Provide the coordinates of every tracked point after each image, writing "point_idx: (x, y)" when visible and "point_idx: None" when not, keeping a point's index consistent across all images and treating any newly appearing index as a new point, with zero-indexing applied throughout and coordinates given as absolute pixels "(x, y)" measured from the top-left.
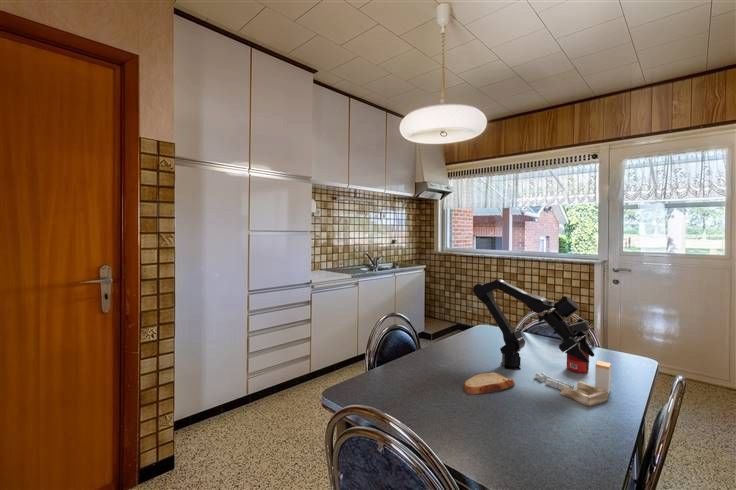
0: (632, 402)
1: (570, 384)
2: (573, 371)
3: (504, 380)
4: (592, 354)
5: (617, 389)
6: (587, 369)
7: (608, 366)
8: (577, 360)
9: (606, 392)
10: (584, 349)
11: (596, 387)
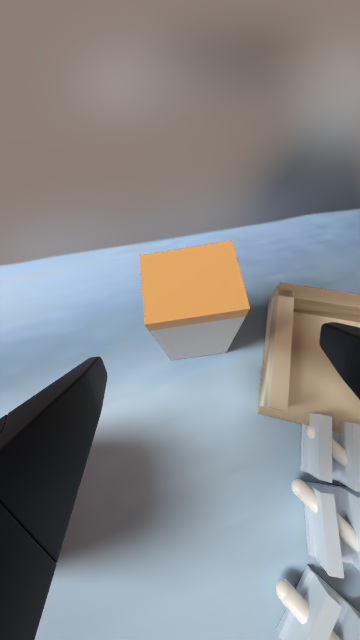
0: None
1: (320, 433)
2: None
3: None
4: (98, 372)
5: (138, 307)
6: None
7: (221, 245)
8: None
9: (288, 285)
10: (70, 463)
11: (278, 323)
